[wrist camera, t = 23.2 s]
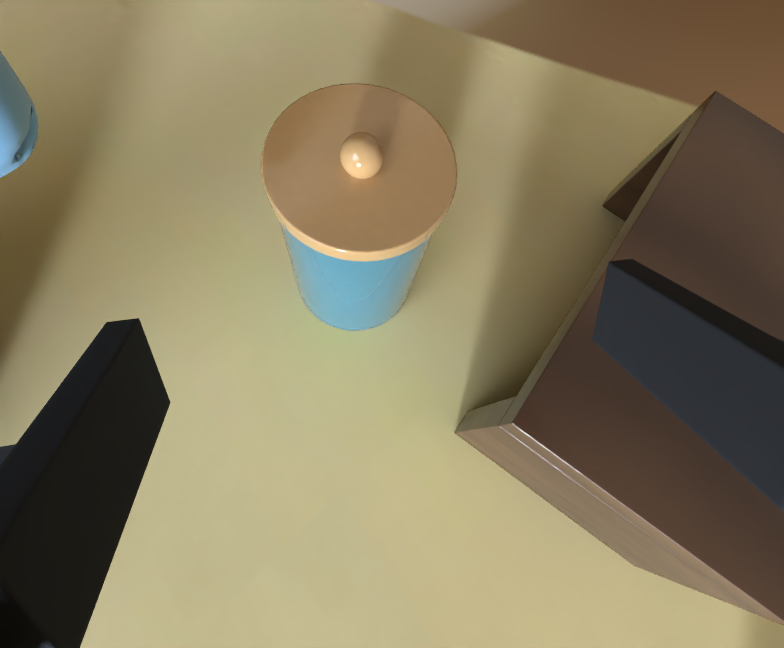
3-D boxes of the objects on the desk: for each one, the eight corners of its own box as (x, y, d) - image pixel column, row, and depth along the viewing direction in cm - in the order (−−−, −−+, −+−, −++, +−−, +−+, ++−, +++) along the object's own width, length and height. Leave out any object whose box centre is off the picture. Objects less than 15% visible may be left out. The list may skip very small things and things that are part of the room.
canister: (271, 300, 26) (211, 175, 14) (329, 204, 28) (319, 26, 16) (381, 354, 26) (413, 274, 14) (431, 254, 28) (496, 110, 16)
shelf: (634, 566, 24) (795, 630, 16) (453, 432, 25) (511, 423, 17) (763, 292, 30) (933, 227, 21) (611, 190, 31) (715, 90, 22)
